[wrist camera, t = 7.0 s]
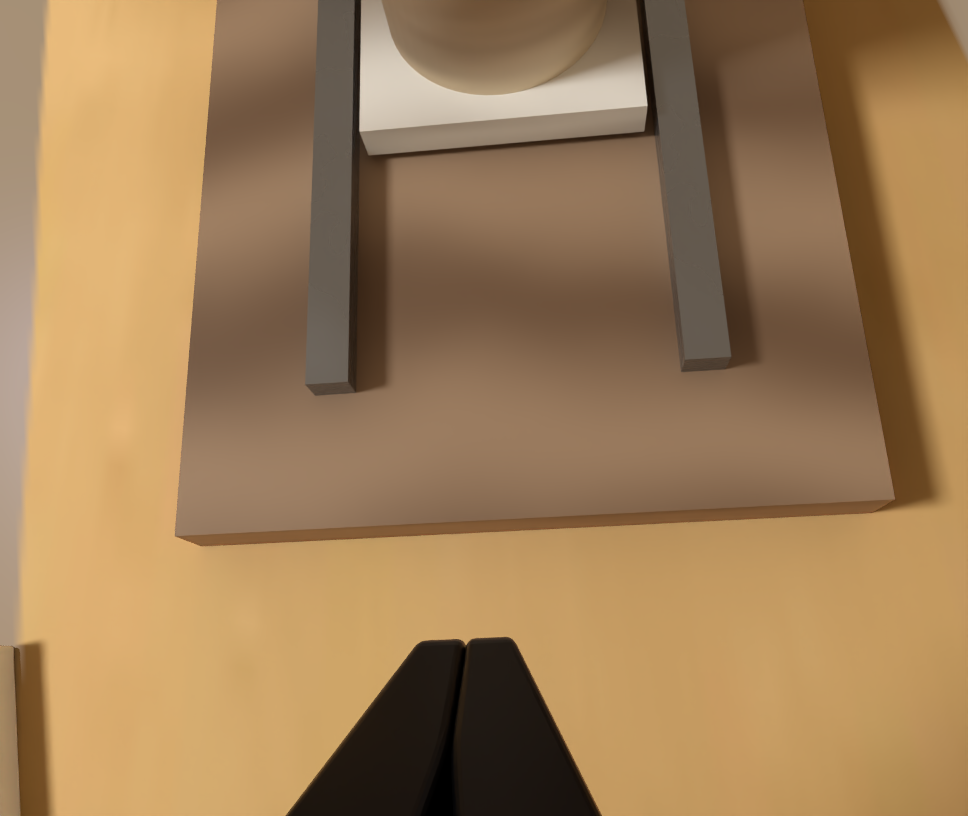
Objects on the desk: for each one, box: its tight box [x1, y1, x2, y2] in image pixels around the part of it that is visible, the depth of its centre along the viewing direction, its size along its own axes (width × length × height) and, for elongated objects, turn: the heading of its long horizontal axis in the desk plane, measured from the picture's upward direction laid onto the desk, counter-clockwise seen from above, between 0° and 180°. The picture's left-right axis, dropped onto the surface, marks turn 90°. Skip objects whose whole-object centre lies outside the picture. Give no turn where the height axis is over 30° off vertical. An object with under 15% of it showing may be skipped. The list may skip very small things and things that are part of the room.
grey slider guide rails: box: [305, 0, 731, 396], centre depth 21 cm, size 17×12×3 cm
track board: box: [175, 0, 895, 546], centre depth 23 cm, size 22×16×2 cm
